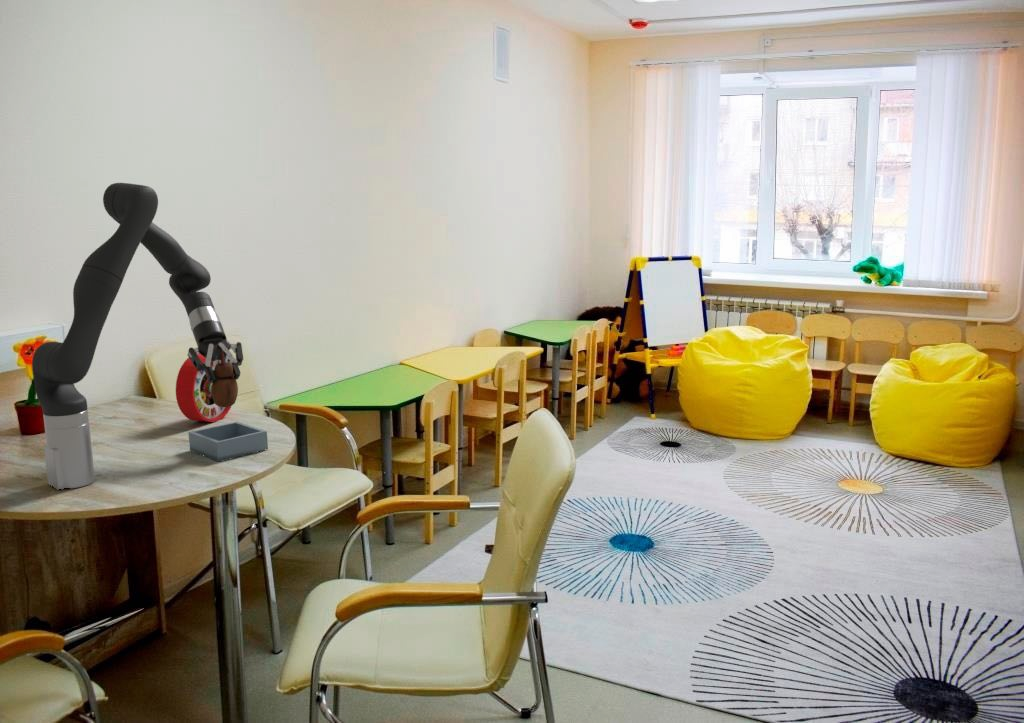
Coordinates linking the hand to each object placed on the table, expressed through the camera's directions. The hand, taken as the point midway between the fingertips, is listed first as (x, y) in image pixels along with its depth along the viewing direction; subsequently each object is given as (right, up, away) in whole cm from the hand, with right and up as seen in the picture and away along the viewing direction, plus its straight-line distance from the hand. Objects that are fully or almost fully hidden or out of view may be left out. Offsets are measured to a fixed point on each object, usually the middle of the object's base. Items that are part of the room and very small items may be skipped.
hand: (225, 379), depth 228 cm
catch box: (-1, -19, +5) cm, 19 cm away
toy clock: (-16, -13, +36) cm, 42 cm away
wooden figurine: (-1, -7, +3) cm, 8 cm away
